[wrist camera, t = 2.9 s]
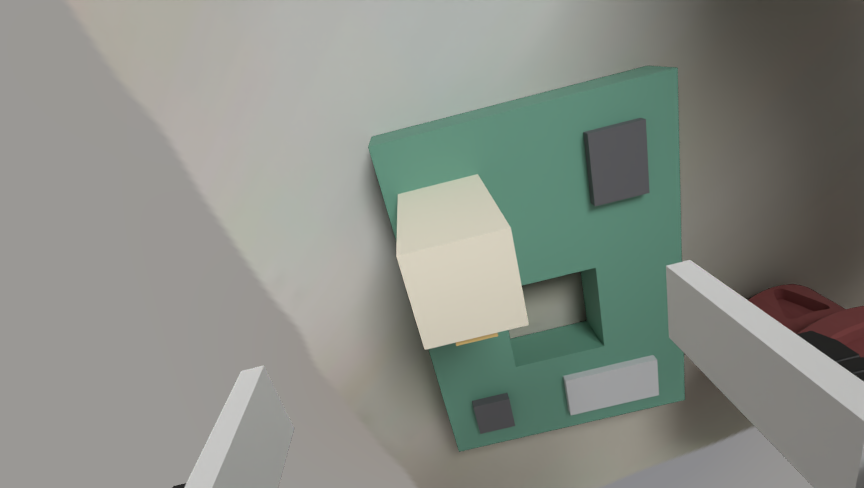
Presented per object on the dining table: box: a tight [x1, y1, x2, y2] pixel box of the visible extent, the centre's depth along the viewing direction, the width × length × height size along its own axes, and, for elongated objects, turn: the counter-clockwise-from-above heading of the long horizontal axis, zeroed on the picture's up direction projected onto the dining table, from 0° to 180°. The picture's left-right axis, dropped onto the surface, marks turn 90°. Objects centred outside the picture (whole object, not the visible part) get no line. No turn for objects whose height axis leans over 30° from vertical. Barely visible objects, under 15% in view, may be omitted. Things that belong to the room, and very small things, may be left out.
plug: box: [396, 174, 529, 350], centre depth 22 cm, size 5×4×8 cm
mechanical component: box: [748, 284, 864, 357], centre depth 27 cm, size 12×10×10 cm
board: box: [368, 66, 685, 452], centre depth 29 cm, size 22×16×4 cm
